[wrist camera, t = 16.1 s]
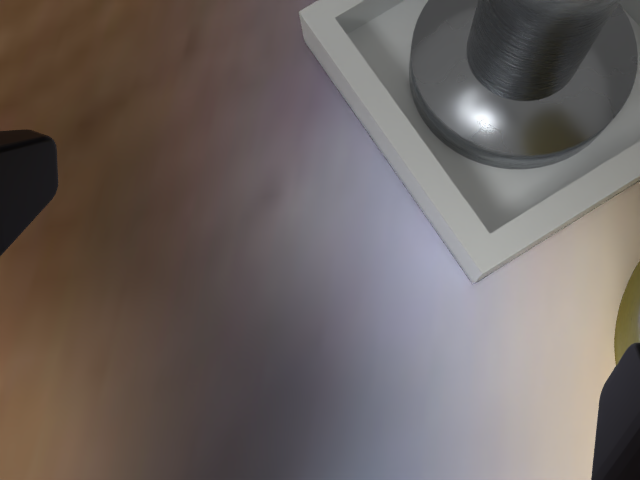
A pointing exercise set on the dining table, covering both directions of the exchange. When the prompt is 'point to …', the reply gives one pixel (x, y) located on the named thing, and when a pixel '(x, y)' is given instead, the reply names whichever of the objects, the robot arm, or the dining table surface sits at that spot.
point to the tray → (449, 166)
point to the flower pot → (628, 316)
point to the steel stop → (521, 76)
